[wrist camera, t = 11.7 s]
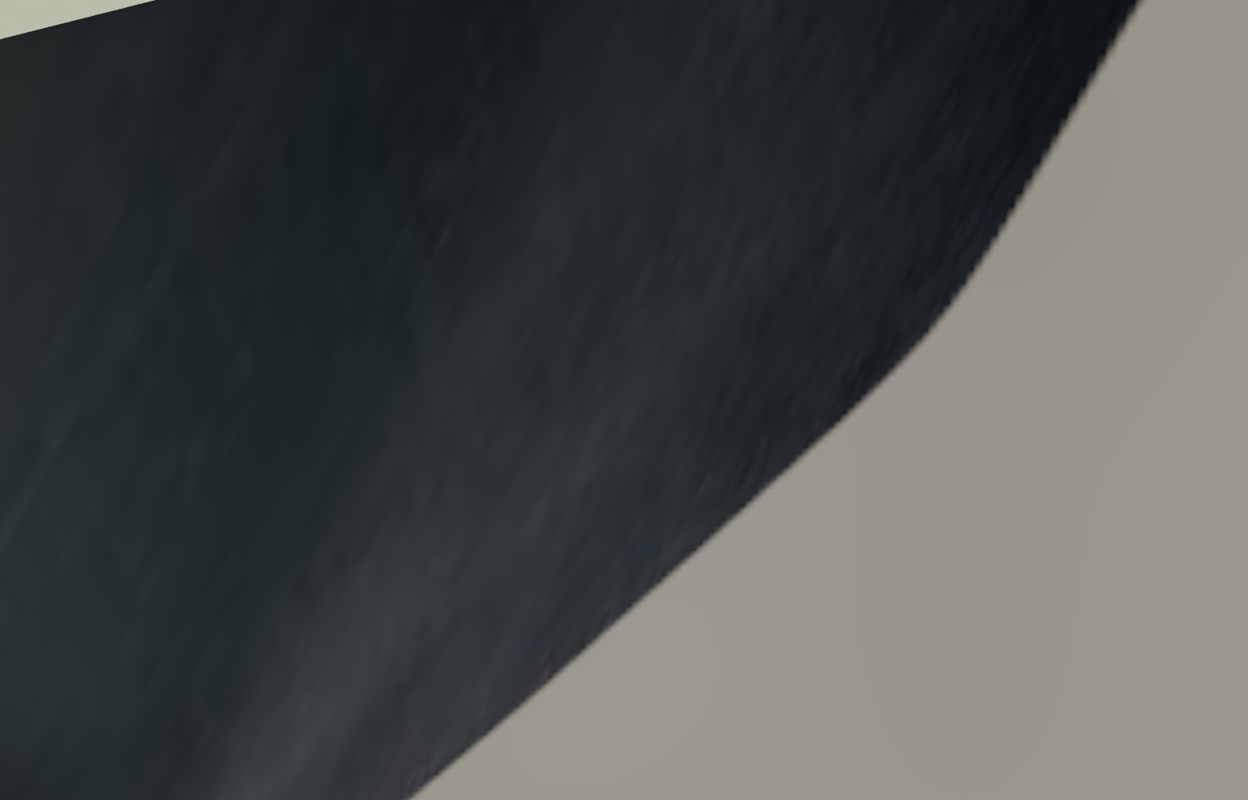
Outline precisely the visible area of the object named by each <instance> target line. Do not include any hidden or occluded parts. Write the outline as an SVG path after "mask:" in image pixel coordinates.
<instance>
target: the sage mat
mask: <svg viewBox="0 0 1248 800" xmlns="http://www.w3.org/2000/svg"><path fill="white" fill-rule="evenodd" d="M149 1H153V0H0V39H2V38H6V37H10V36H14V35H18V34H22V33H26V32H30V31H34V30H38V29H41V28H45V27H49V26H53V25H57V24H61V23H65V22H69V21H73V20H77V19H81V18H85V17H89V16H93V15H97V14H101V13H105V12H109V11H113V10H117V9H121V8H125V7H129V6H133V5H137V4H141V3H145V2H149Z"/></svg>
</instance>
